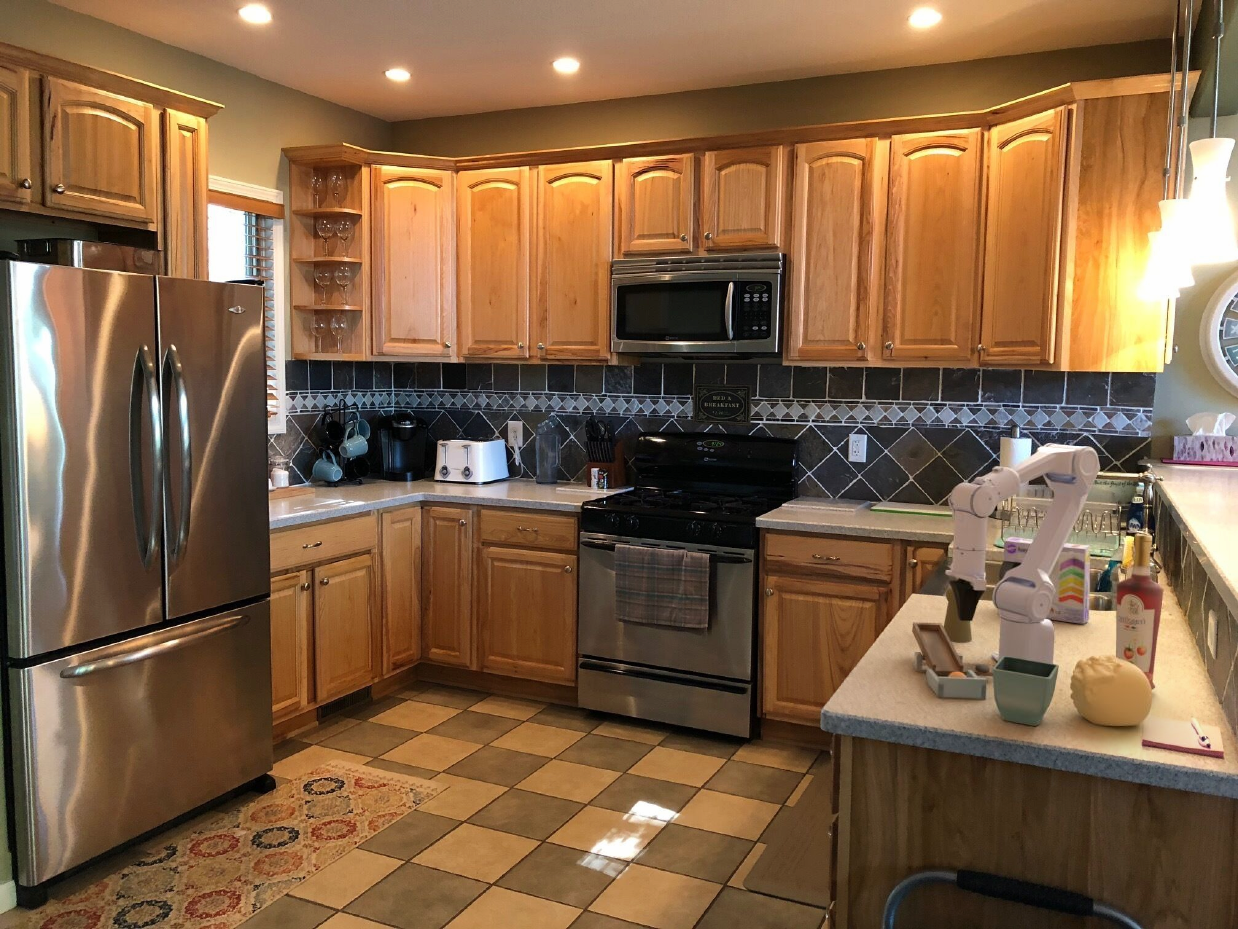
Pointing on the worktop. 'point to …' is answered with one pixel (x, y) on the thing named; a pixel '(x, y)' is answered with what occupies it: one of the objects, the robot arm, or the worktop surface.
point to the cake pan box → (1059, 578)
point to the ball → (957, 674)
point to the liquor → (1139, 612)
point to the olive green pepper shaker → (955, 621)
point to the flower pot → (1023, 688)
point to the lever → (943, 651)
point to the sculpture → (1110, 691)
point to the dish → (957, 686)
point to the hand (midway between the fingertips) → (965, 620)
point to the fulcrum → (918, 662)
